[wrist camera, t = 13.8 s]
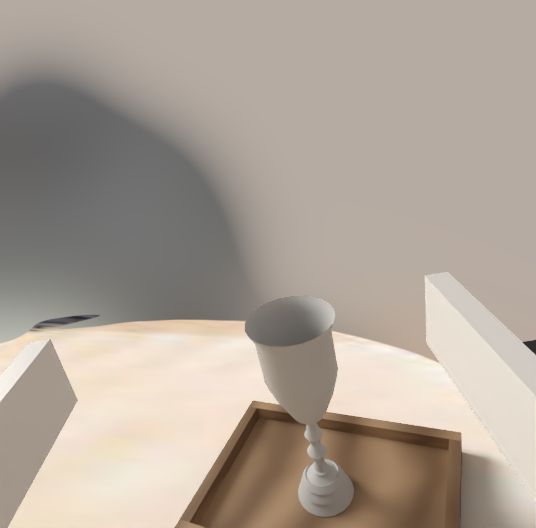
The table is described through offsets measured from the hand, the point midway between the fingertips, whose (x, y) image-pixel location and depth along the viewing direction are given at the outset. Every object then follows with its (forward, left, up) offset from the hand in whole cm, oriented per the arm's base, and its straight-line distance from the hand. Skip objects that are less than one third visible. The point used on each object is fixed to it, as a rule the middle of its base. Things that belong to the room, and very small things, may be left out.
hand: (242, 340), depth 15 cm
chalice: (-5, +14, -26) cm, 30 cm away
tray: (-5, +14, -27) cm, 31 cm away
